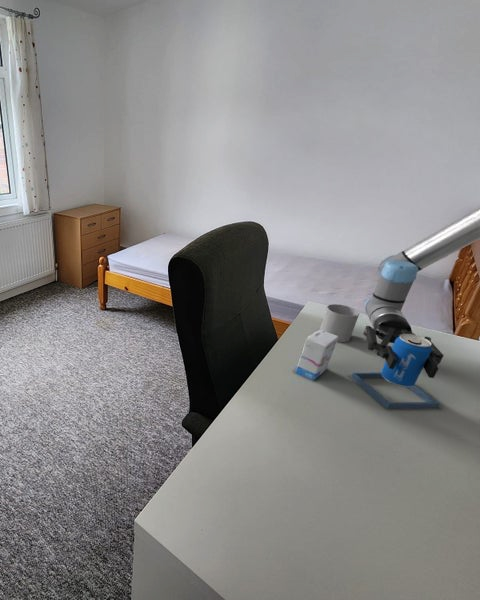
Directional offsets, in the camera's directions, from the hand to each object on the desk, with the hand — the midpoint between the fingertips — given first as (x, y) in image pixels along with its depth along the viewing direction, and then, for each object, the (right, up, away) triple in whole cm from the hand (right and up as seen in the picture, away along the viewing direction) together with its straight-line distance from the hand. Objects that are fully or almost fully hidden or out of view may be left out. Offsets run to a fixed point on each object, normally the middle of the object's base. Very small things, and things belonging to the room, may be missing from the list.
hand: (413, 368), depth 79 cm
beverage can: (+3, -5, +7) cm, 9 cm away
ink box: (-12, -5, +17) cm, 22 cm away
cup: (+7, +4, +34) cm, 35 cm away
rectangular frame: (+3, -8, +9) cm, 12 cm away
